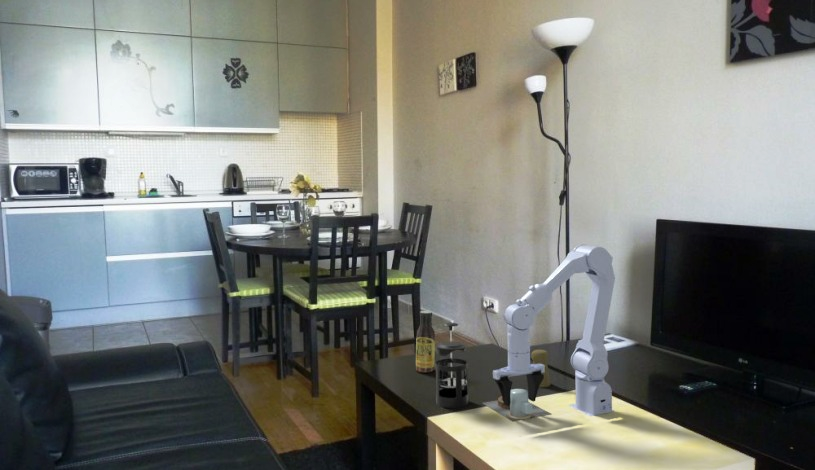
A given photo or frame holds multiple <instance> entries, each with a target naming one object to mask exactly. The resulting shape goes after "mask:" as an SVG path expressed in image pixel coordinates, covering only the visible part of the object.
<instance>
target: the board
mask: <svg viewBox="0 0 815 470" xmlns="http://www.w3.org/2000/svg"><path fill="white" fill-rule="evenodd" d="M530 403H531V404H532V413H531V414H528V416H526V417H513V416H511V415H510V406H507V405H505V404H504V402H503V398H502V395H501V396H499V397H498V398H497V399H495V400H490V401H484V402H482V404H483V405H484V406H486V407H487V408H489V409H490V410H492V411H494V412H495V413H497V414H499V415H501V416H502V417H504V418H506V419H508V420H509V421H511V422H518V421H523V420H530V419H533V418H540V417H544V416H546V417H547V416H549V415H550V416H551V415H552V413H551V412H549V411H547V410H545V409H543V408H541V407H539V406H537V405H535V404H534V403H532V402H530Z"/></svg>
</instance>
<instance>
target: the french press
mask: <svg viewBox="0 0 815 470" xmlns="http://www.w3.org/2000/svg"><path fill="white" fill-rule="evenodd" d="M443 326H444V327H448V330H449V335H450V337H449V340H450V341H443V342H438V343H435V349H436V354H437V355H439V356H443V357H441V358H439V359H438V360H435V366H434V369H435V383H436V384H435V386H436V388H435V390H436V391H435V401H436V402H435V403H436V405H437V406H438V407H442V408H447V409H459V408H463V407H466V406H468V404H469V390H468V367H469V366H468V363H469V362H468V361H467V360H466V359H463V358H456V357H455V358H453V352H455V351H462V352H463V353H464V354H466V353H467V352H466V349H467V347H468V343H466V342H462V341H453V339H452V335H453V334H452V331H453V327H457V326H459V324H458V323H456V322H445V323H443ZM448 355H450V357H449V358H445V357H446V356H448ZM449 364H450V366H449ZM453 364H460V365H458V366H453ZM462 371H463V374H462ZM449 372H450V377H449ZM453 372H455V377H453ZM462 375H463V376H462Z"/></svg>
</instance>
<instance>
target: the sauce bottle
mask: <svg viewBox="0 0 815 470" xmlns="http://www.w3.org/2000/svg"><path fill="white" fill-rule="evenodd" d="M419 317H420V321H419V322H420V323H419V327H418V329H417V330H416V338H415V339H416V340H415V341H416V342H415V343H416V344H415V369H416V371H417V372H419V373H422V374H423V373H424V374H425V373H431V372H433V371H434V370H435V362H436V360H435V358H436V355H435V353H436V347H435V345H436V338H435V337H436V332H435V329H434V328H433V326H432V325H433V324H432V317H433V311H431V310H421V311H419Z"/></svg>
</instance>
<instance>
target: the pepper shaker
mask: <svg viewBox="0 0 815 470" xmlns="http://www.w3.org/2000/svg"><path fill="white" fill-rule="evenodd" d="M530 359H531V360H532V364H543V365H545V372H543V373H541V374H543V375H544V379H543V380H542V382H541V384H540V386H539V388H548V387H550V386H551V379H550V372H549V368H548V367H549V366H548V361H549V359H550V355H549V352H548V351H547V350H545V349H534V350H533V351H532V352H531V353H530Z"/></svg>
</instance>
